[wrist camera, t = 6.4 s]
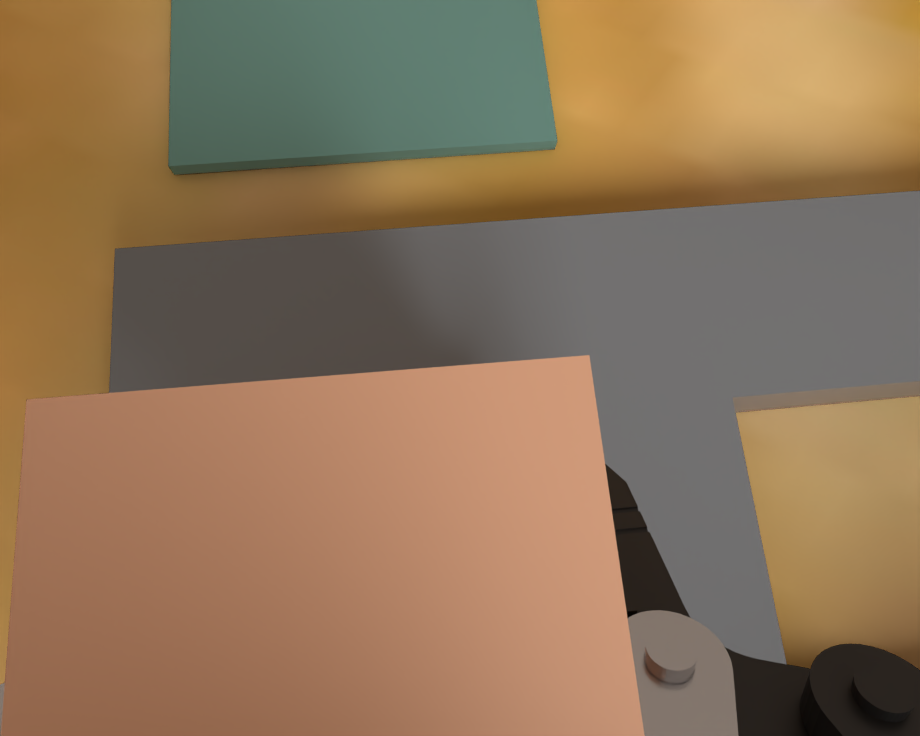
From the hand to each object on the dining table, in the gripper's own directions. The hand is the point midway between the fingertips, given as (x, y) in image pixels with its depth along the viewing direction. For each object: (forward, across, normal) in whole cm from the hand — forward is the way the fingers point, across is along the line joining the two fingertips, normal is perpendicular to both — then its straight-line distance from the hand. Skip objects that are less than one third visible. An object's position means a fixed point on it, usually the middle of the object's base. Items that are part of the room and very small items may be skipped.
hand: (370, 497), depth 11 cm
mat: (+13, 0, -7) cm, 15 cm away
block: (+2, 0, +5) cm, 5 cm away
